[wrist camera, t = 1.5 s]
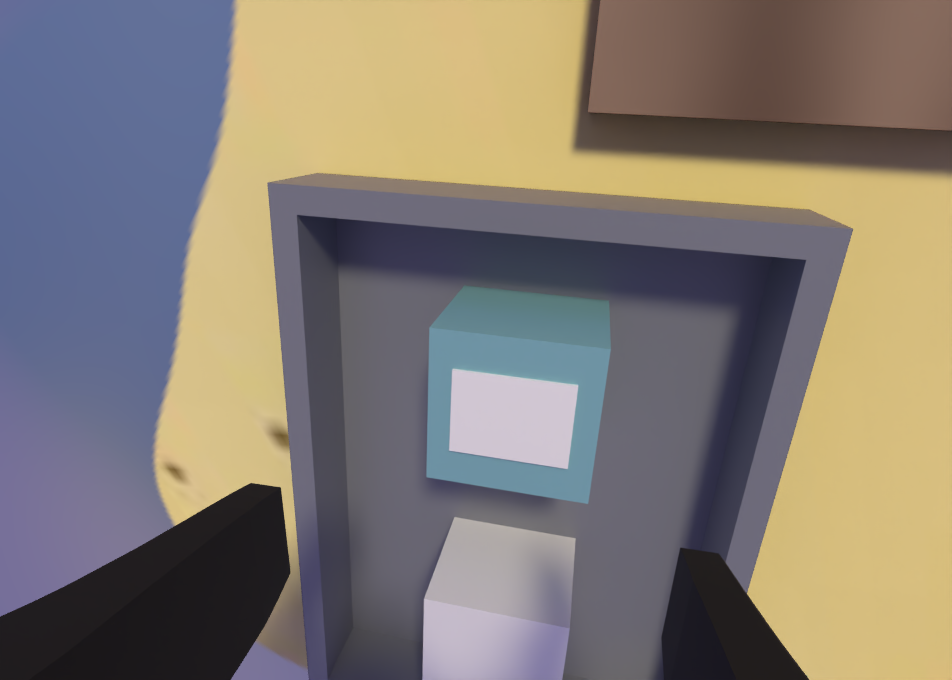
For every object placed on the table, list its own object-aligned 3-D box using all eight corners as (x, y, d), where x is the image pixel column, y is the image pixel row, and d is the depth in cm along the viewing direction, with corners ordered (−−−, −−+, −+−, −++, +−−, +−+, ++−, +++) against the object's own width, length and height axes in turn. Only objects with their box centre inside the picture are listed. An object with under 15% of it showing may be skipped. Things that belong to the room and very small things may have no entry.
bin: (809, 209, 16) (853, 228, 13) (681, 702, 23) (692, 781, 20) (317, 173, 18) (267, 182, 16) (341, 628, 26) (309, 689, 23)
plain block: (575, 538, 21) (569, 628, 17) (562, 630, 22) (554, 731, 19) (454, 517, 21) (424, 598, 18) (450, 607, 23) (421, 699, 19)
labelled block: (609, 300, 17) (610, 350, 14) (590, 430, 19) (588, 506, 15) (464, 285, 18) (428, 329, 14) (458, 410, 20) (425, 478, 16)
